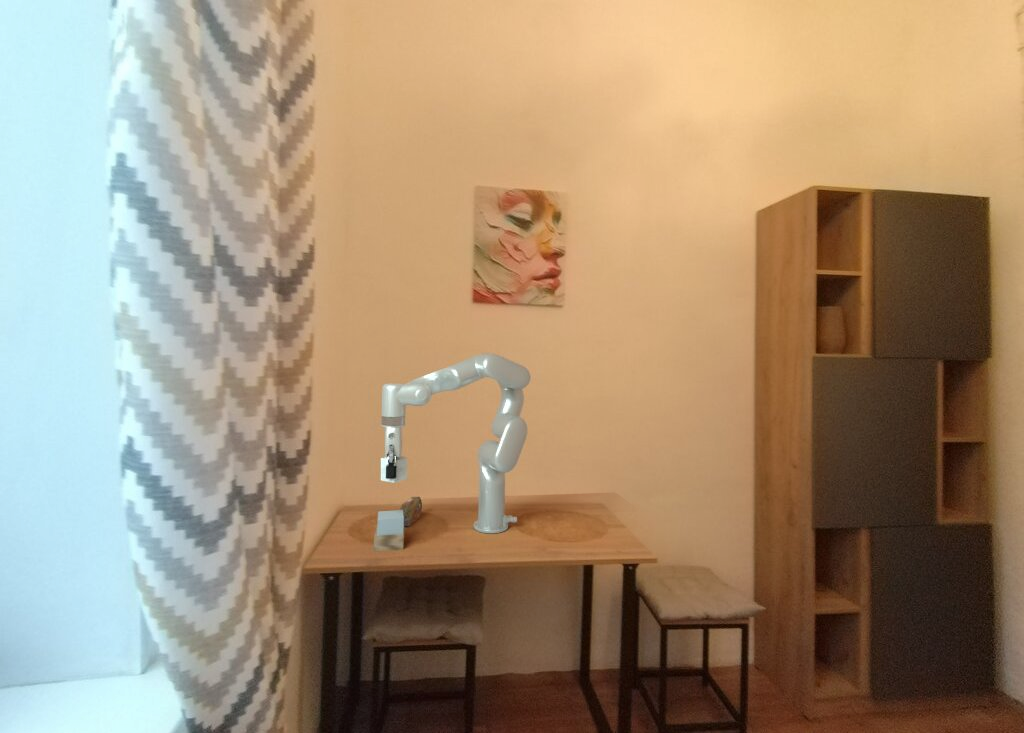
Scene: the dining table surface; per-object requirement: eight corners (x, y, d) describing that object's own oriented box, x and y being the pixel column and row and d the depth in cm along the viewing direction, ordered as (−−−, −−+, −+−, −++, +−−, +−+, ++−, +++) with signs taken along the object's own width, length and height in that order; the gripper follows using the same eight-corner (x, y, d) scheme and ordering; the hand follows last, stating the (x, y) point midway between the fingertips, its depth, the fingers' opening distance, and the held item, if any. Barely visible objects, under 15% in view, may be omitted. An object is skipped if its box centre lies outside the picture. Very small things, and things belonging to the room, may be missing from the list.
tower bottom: (404, 539, 150) (404, 524, 150) (403, 550, 142) (403, 534, 142) (376, 540, 149) (376, 525, 148) (373, 552, 140) (374, 536, 140)
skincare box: (407, 479, 146) (407, 457, 146) (393, 483, 141) (394, 460, 140) (393, 476, 149) (394, 454, 149) (379, 480, 144) (380, 457, 143)
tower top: (402, 524, 150) (403, 510, 150) (403, 533, 142) (403, 518, 142) (377, 526, 148) (378, 511, 148) (377, 535, 140) (377, 520, 140)
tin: (405, 529, 158) (406, 506, 158) (397, 529, 159) (397, 505, 158) (422, 515, 173) (422, 494, 173) (414, 514, 173) (415, 493, 173)
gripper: (404, 425, 137) (402, 481, 137) (406, 417, 154) (404, 467, 154) (378, 425, 135) (377, 482, 135) (383, 417, 152) (382, 468, 152)
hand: (392, 474), depth 145 cm, fingers closed on skincare box, 8 cm apart
